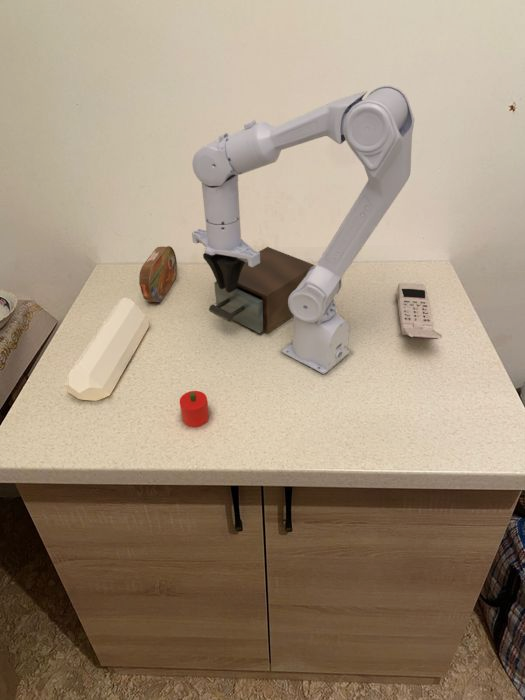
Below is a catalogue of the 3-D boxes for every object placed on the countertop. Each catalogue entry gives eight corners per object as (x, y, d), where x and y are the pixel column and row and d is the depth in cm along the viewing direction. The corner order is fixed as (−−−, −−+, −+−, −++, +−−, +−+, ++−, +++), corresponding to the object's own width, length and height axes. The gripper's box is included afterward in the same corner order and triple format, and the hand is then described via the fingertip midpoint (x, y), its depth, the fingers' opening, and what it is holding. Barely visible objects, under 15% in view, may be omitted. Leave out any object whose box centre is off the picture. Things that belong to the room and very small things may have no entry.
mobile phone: (407, 335, 85) (398, 262, 104) (401, 362, 89) (394, 287, 108) (444, 338, 84) (428, 264, 103) (436, 365, 88) (423, 289, 107)
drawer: (241, 345, 92) (240, 314, 88) (199, 322, 98) (195, 292, 94) (303, 303, 102) (304, 273, 98) (261, 284, 108) (261, 256, 104)
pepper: (214, 416, 79) (212, 393, 76) (195, 431, 77) (191, 408, 74) (196, 404, 81) (193, 381, 78) (177, 418, 79) (172, 395, 76)
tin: (155, 310, 103) (149, 274, 98) (141, 308, 104) (134, 272, 99) (179, 273, 115) (175, 239, 110) (166, 272, 115) (161, 238, 110)
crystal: (104, 302, 99) (44, 385, 80) (131, 289, 95) (75, 371, 77) (128, 330, 102) (76, 415, 84) (155, 318, 99) (107, 403, 80)
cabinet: (267, 334, 96) (266, 296, 90) (221, 310, 102) (217, 273, 97) (314, 302, 104) (315, 265, 99) (268, 282, 111) (267, 246, 106)
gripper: (175, 214, 84) (184, 284, 93) (237, 238, 77) (241, 312, 85) (205, 201, 88) (212, 269, 97) (267, 223, 81) (269, 295, 89)
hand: (228, 288), depth 91 cm, fingers closed
